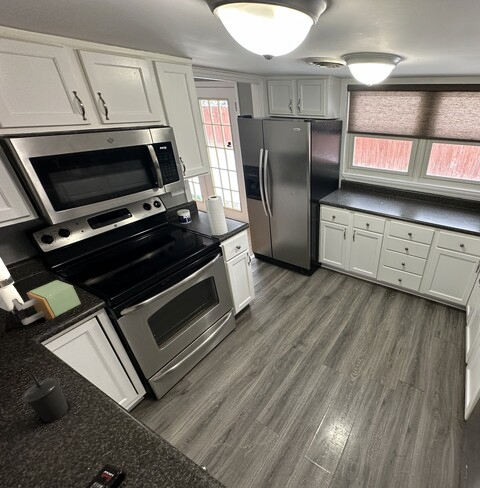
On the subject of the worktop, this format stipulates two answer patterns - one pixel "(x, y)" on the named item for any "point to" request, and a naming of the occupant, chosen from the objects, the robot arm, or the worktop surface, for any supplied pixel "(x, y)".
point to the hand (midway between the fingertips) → (20, 318)
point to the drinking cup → (46, 398)
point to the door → (37, 308)
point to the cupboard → (58, 296)
